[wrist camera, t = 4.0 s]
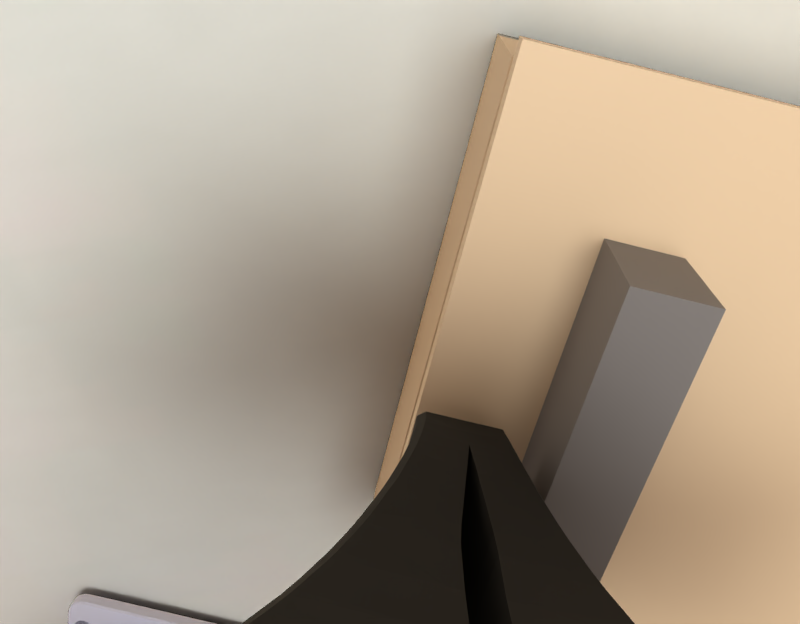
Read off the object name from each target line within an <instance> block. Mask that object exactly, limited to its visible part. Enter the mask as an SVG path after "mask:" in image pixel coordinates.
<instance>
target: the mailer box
mask: <svg viewBox="0 0 800 624" xmlns="http://www.w3.org/2000/svg"><path fill="white" fill-rule="evenodd" d="M518 40H519V39H518V38H514V37H510V36H506V35H502V34H497V38H496V42H495V46H494V49H493V53H492V57H491V61H490V64H489V68H488V72H487V75H486V79H485V83H484V87H483V90H482V94H481V98H480V102H479V105H478V109H477V113H476V116H475V120H474V124H473V128H472V131H471V135H470V139H469V143H468V146H467V150H466V154H465V158H464V161H463V165H462V169H461V172H460V176H459V180H458V184H457V187H456V191H455V195H454V199H453V202H452V206H451V210H450V213H449V217H448V221H447V225H446V228H445V232H444V236H443V240H442V243H441V247H440V251H439V254H438V258H437V262H436V266H435V269H434V273H433V277H432V281H431V284H430V288H429V292H428V296H427V299H426V303H425V307H424V310H423V314H422V318H421V322H420V325H419V329H418V333H417V337H416V340H415V344H414V348H413V351H412V355H411V359H410V363H409V366H408V370H407V374H406V378H405V381H404V385H403V389H402V392H401V396H400V400H399V404H398V407H397V411H396V415H395V419H394V422H393V426H392V430H391V433H390V437H389V441H388V445H387V448H386V452H385V456H384V460H383V463H382V467H381V471H380V475H379V478H378V482H377V486H376V489H375V494H374V499H375V497H376V496H377V495H378V493H379V492H380V491H381V489H382V488H383V487H384V485H385V484H386V482H387V481H388V479H389V478H390V476H391V474H392V473H393V471H394V470H395V468H396V466H397V465H398V463H399V462H400V460H401V457H402V453H403V450H404V446H405V443H406V439H407V435H408V432H409V428H410V425H411V421H412V418H413V414H414V410H415V407H416V403H417V400H418V396H419V393H420V389H421V386H422V382H423V378H424V375H425V371H426V368H427V364H428V361H429V357H430V353H431V350H432V346H433V343H434V339H435V336H436V332H437V328H438V325H439V321H440V318H441V314H442V311H443V307H444V303H445V300H446V296H447V293H448V289H449V286H450V282H451V279H452V275H453V271H454V268H455V264H456V261H457V257H458V254H459V250H460V246H461V243H462V239H463V236H464V232H465V229H466V225H467V221H468V218H469V214H470V211H471V207H472V204H473V200H474V197H475V193H476V189H477V186H478V182H479V179H480V175H481V172H482V168H483V164H484V161H485V157H486V154H487V150H488V147H489V143H490V139H491V136H492V132H493V129H494V125H495V122H496V118H497V114H498V111H499V107H500V104H501V100H502V97H503V93H504V90H505V86H506V82H507V79H508V75H509V72H510V68H511V65H512V61H513V57H514V54H515V50H516V47H517V43H518Z"/></svg>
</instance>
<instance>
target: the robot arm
mask: <svg viewBox="0 0 800 624" xmlns="http://www.w3.org/2000/svg"><path fill="white" fill-rule="evenodd" d="M68 624H216V623H212V622H207V621H203V620H199V619H194V618H190V617H186V616H182V615H177V614H173V613H169V612H164V611H160V610H156V609H152V608H147V607H143V606H139V605H134V604H130V603H126V602H122V601H117V600H113V599H109V598H104V597H100V596H96V595H92V594H82V595H78V596H77V597H76V598H75V599H74V600H73V602H72V604H71V605H70V607H69V610H68ZM242 624H635V623H634V622H633V621H632V620H631V618H630V617H629V616H628V615H627V614H626V613H625V611H624V610H623V609H622V608H621V607H620V606H619V604H618V603H617V602H616V601H615V600H614V599H613V597H612V596H611V595H610V594H609V593H608V591H607V590H606V589H605V588H604V586H603V585H602V584H601V583H600V581H599V580H598V579H597V578H596V576H595V575H594V574H593V572H592V571H591V570H590V568H589V567H588V566H587V564H586V563H585V561H584V560H583V559H582V557H581V556H580V555H579V553H578V552H577V550H576V549H575V548H574V546H573V545H572V543H571V542H570V541H569V539H568V538H567V536H566V535H565V533H564V532H563V530H562V529H561V527H560V526H559V524H558V523H557V521H556V520H555V518H554V516H553V515H552V513H551V512H550V510H549V508H548V507H547V505H546V504H545V502H544V500H543V499H542V497H541V495H540V494H539V492H538V490H537V489H536V487H535V485H534V484H533V482H532V480H531V478H530V477H529V475H528V473H527V471H526V470H525V468H524V466H523V464H522V462H521V461H520V459H519V457H518V455H517V453H516V452H515V450H514V448H513V446H512V444H511V443H510V441H509V439H508V438H507V436H506V434H505V432H504V431H503V430H502V429H498V428H494V427H490V426H485V425H481V424H477V423H473V422H469V421H464V420H460V419H456V418H452V417H448V416H443V415H439V414H435V413H431V412H424V413H422V414H420V415H418V416H417V417H416V421H415V425H414V428H413V432H412V435H411V439H410V443H409V445H408V447H407V449H406V451H405V453H404V455H403V457H402V458H401V460H400V462H399V463H398V465H397V466H396V468H395V470H394V471H393V473H392V474H391V476H390V478H389V479H388V481H387V482H386V484H385V485H384V487H383V488H382V489H381V491H380V492H379V493H378V495H377V496H376V497H375V499H374V500H373V501H372V502H371V504H370V505H369V506H368V508H367V509H366V510H365V512H364V513H363V514H362V515H361V517H360V518H359V519H358V520H357V521H356V523H355V524H354V525H353V526H352V527H351V528H350V529H349V531H348V532H347V533H346V534H345V535H344V536H343V537H342V538H341V539H340V540H339V541H338V542H337V543H336V544H335V545H334V547H333V548H332V549H331V550H330V551H329V552H328V553H327V554H326V555H325V556H324V557H323V558H321V559H320V560H319V561H318V562H317V563H316V564H315V565H314V566H313V567H312V568H311V569H310V570H308V571H307V572H306V573H305V574H304V575H303V576H302V577H301V578H300V579H299V580H298V581H296V582H295V583H294V584H293V585H292V586H291V587H289V588H288V589H287V590H286V591H284V592H283V593H282V594H281V595H280V596H278V597H277V598H276V599H274V600H273V601H272V602H270V603H269V604H267V605H266V606H265V607H263V608H262V609H261V610H259V611H258V612H257V613H255V614H254V615H253V616H251V617H250V618H249V619H247V620H246V621H245V622H243V623H242Z"/></svg>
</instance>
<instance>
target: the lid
mask: <svg viewBox="0 0 800 624" xmlns="http://www.w3.org/2000/svg"><path fill="white" fill-rule="evenodd" d="M424 412H431V413H435V414H439V415H443V416H448V417H452V418H456V419H460V420H464V421H469V422H473V423H477V424H481V425H485V426H490V427H494V428H498V429H502V430H503V431H504V432H505V434H506V436H507V438H508V439H509V441H510V443H511V444H512V446H513V448H514V450H515V452H516V453H517V455H518V457H519V459H520V461H521V462H522V464H523V466H524V468H525V470H526V471H527V473H528V475H529V477H530V478H531V480H532V482H533V484H534V485H535V487H536V489H537V490H538V492H539V494H540V495H541V497H542V499H543V500H544V502H545V504H546V505H547V507H548V508H549V510H550V512H551V513H552V515H553V516H554V518H555V520H556V521H557V523H558V524H559V526H560V527H561V529H562V530H563V532H564V533H565V535H566V536H567V538H568V539H569V541H570V542H571V543H572V545H573V546H574V548H575V549H576V550H577V552H578V553H579V555H580V556H581V557H582V559H583V560H584V561H585V563H586V564H587V566H588V567H589V568H590V570H591V571H592V572H593V574H594V575H595V576H596V578H597V579H598V580H599V581H600V583H601V584H602V585H603V586H604V588H605V589H606V590H607V591H608V593H609V594H610V595H611V596H612V597H613V599H614V600H615V601H616V602H617V603H618V604H619V606H620V607H621V608H622V609H623V610H624V611H625V613H626V614H627V615H628V616H629V617H630V618H631V620H632V621H633V622H634V623H635V624H800V106H796V105H792V104H788V103H784V102H780V101H776V100H772V99H768V98H764V97H761V96H757V95H753V94H749V93H745V92H741V91H737V90H733V89H729V88H725V87H721V86H717V85H713V84H709V83H705V82H701V81H697V80H693V79H689V78H685V77H681V76H677V75H673V74H669V73H665V72H661V71H657V70H653V69H649V68H645V67H641V66H638V65H634V64H630V63H626V62H622V61H618V60H614V59H610V58H606V57H602V56H598V55H594V54H590V53H586V52H582V51H578V50H574V49H570V48H566V47H562V46H558V45H554V44H550V43H546V42H542V41H538V40H534V39H530V38H526V37H522V36H519V40H518V43H517V47H516V50H515V54H514V57H513V61H512V65H511V68H510V72H509V75H508V79H507V82H506V86H505V90H504V93H503V97H502V100H501V104H500V107H499V111H498V114H497V118H496V122H495V125H494V129H493V132H492V136H491V139H490V143H489V147H488V150H487V154H486V157H485V161H484V164H483V168H482V172H481V175H480V179H479V182H478V186H477V189H476V193H475V197H474V200H473V204H472V207H471V211H470V214H469V218H468V221H467V225H466V229H465V232H464V236H463V239H462V243H461V246H460V250H459V254H458V257H457V261H456V264H455V268H454V271H453V275H452V279H451V282H450V286H449V289H448V293H447V296H446V300H445V303H444V307H443V311H442V314H441V318H440V321H439V325H438V328H437V332H436V336H435V339H434V343H433V346H432V350H431V353H430V357H429V361H428V364H427V368H426V371H425V375H424V378H423V382H422V386H421V389H420V393H419V396H418V400H417V403H416V407H415V410H414V414H413V418H412V421H411V425H410V428H409V432H408V435H407V439H406V443H405V446H404V450H403V453H402V457H403V455H404V453H405V451H406V449H407V447H408V445H409V443H410V439H411V435H412V432H413V428H414V425H415V421H416V417H417V416H418V415H420V414H422V413H424ZM402 457H401V458H402Z"/></svg>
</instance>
